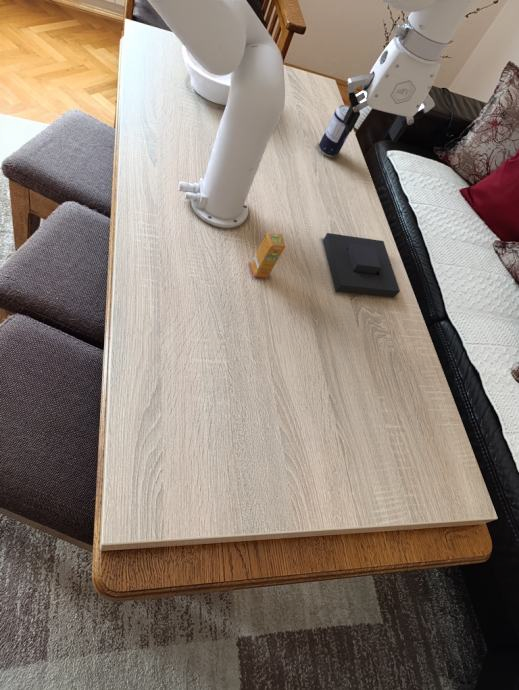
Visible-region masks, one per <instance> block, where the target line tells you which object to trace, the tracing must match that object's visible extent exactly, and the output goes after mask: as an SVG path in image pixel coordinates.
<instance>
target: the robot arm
mask: <svg viewBox="0 0 519 690" xmlns="http://www.w3.org/2000/svg"><path fill="white" fill-rule="evenodd" d="M146 1H147V2H148V4H150V6H151V7H152V8H153V9H154V11H155V12H156V13H157V14H158V16H159V17H161V19H162V20H163V22H164V23H165V24H166V26H167V27H168V28H169V29H170V31H171V32H172V33H173V34H174V36H175V37H176V38H177V39H178V41H179V42H180V43H181V44H182V46H183V45H184V46H185V47H186V49H187V50H188V51H189V52H190V54H191V55H192V56H193V57H194V59H195V60H196V61H197V62H198V63H199V64H200V65H201V66H202V67H203V68H204V69H205V70H206V71H208V72H209V73H211V74H214V75H219V76H224V75H228V74H230V73H231V80H230V91H229V96H228V101H227V105H225V108H224V111H223V114H222V116H221V119H220V121H219V125H218V128H217V132H216V136H215V139H214V143H213V146H212V150H211V154H210V157H209V161H208V164H207V168H206V171H205V175H204V178H203V177H200V178H199V181H198V182H193V183H189V182H186V181H181V180H180V181H179V182H178V184H177V185H178V186H177V190H178V191H179V192H185V193H184V199H185V200H190V204H191V208H192V210H193V211H194V213H195V214H196V215H197V217H199V219H201V220H203V221H204V222H205V223H207V224H209V225H211V226H214V227H218V228H223V229H232V228H236V227H239V226H240V225H242V224H244V223H245V221H246V220H247V217H248V215H249V205H248V202H247V198H248V195H249V192H250V190H251V187H252V185H253V182H254V179H255V177H256V174H257V172H258V170H259V167H260V164H261V162H262V159H263V156H264V154H265V151H266V149H267V147H268V143H269V142H270V139H271V137H272V135H273V133H274V131H275V130H276V128H277V126H278V124H279V122H280V121H281V118H282V115H283V112H284V108H285V102H286V82H285V65H284V59H283V55H282V53H281V50H280V49H279V47H278V45H277V44H276V42H275V40H274V39H273V37H272V35H271V34H270V33H269V31H268V30H267V28H266V27H265V26H264V24H263V23H262V21H261V19H260V18H259V17H258V16H257V14H256V12H255V11H254V9H253V8H252V6H251V5H250V4H249V2H248V1H247V0H146ZM379 1H380V2H382V3H384V4H386V5H388V6H390V7H392V8H393V9H396V10H398V11H401V12H406V13H409V15H408V17H407V18H406V19H405V21H404V22H403V24H396V25H395V26H394V28H393V35H395V37H393V38H392V39H391V40H390V42H389V43H388V44H387V46H386V47H385V48H384V49H383V50H382V51H381V54H380V55H379V57H378V59H376V62H374V65H373V66H372V68H371V70H370V71H369V73H365V74H361V75H357V76H352V77H349V78H348V79H347V80H346V90H347V91H346V94H347V97H348V100H349V102H350V105H349V106H350V107H349V109H348V111H347V113H346V115H345V117H344V125H345V128H346V131H347V132H350V133H352V131H353V129H354V128H355V125H356V124H357V122H358V120H359V118H360V116H361V112H360V111H362V110H363V109H365V108H367V107H369V108H371V109H373V110H376V111H381V112H384V113H388V114H392V115H397V116H396V118H395V120H394V122H393V124H392V125H391V127H390V128H389V130H388V134H389V137H390V139H391V141H392V143H397V142H398V140H399V139H400V137H402V135H403V134H404V132H405V131H406V129H407V127H408V126H410V125H412V124H414V122H415V121H416V120H419V119H420V118H423V117H424V116H425V114H426V113H428V112H429V111H430V110H432V109H433V108H434V107H435V106H436V103H435V101H434V99H433V98H432V97H431V96H430V94H429V92H430V91H431V89H432V87H433V85H434V83H435V81H436V78H437V76H438V73H439V71H440V68H441V65H442V63H443V60H442V58H441V57H442V55H443V53H444V52H445V50H446V48H447V47H448V45H449V43H450V41H452V39H453V37H454V36H455V33H456V32H457V30H458V29H459V27H460V25H461V24H462V22H463V21H464V19H465V18H466V16H467V14H468V12H469V11H470V10H471V7H472V6H473V4H474V3H475V2H476V0H379ZM396 36H397V37H396ZM358 88H361V91H360V92H358V93H357V89H358ZM178 191H177V192H178Z"/></svg>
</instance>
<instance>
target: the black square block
mask: <svg viewBox="0 0 519 690" xmlns="http://www.w3.org/2000/svg"><path fill="white" fill-rule="evenodd" d="M347 251H348V255H349V258H350V262H351V265H352V269H353V272H357V273H366V274H374V275H376V273H377V272H378V271H379V269H380V268H381V266H380V262H379V259H378V256H377V253H376V250H375V247H369V246H362V245H355V244H352V245H351V246H350V248H349V249H348V250H347Z"/></svg>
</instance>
